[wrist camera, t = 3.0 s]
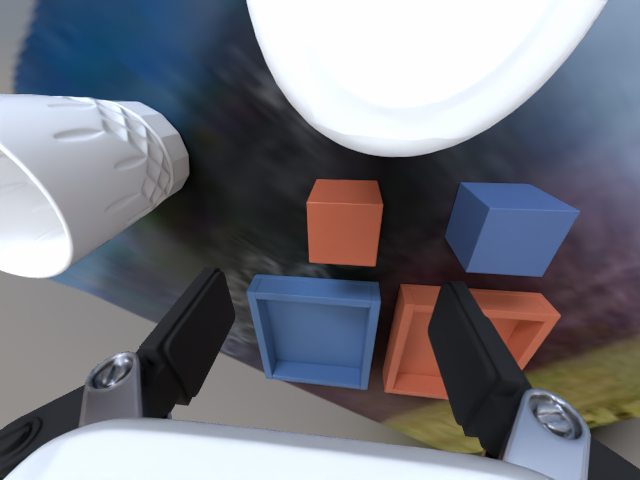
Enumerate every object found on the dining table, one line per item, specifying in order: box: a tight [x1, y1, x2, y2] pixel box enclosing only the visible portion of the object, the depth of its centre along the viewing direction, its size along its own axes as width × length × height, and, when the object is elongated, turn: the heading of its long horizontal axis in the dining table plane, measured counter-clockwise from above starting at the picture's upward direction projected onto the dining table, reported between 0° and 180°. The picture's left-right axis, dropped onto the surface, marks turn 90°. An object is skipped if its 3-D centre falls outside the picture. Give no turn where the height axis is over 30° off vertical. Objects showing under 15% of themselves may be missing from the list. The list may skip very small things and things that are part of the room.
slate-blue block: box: [445, 182, 580, 277], centre depth 16 cm, size 4×4×4 cm
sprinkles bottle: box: [247, 0, 608, 157], centre depth 8 cm, size 5×5×13 cm
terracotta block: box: [307, 179, 383, 266], centre depth 17 cm, size 4×4×4 cm
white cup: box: [0, 94, 189, 278], centre depth 14 cm, size 8×8×10 cm
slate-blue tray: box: [246, 274, 381, 390], centre depth 25 cm, size 12×14×2 cm
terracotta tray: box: [383, 284, 561, 400], centre depth 24 cm, size 12×14×2 cm
